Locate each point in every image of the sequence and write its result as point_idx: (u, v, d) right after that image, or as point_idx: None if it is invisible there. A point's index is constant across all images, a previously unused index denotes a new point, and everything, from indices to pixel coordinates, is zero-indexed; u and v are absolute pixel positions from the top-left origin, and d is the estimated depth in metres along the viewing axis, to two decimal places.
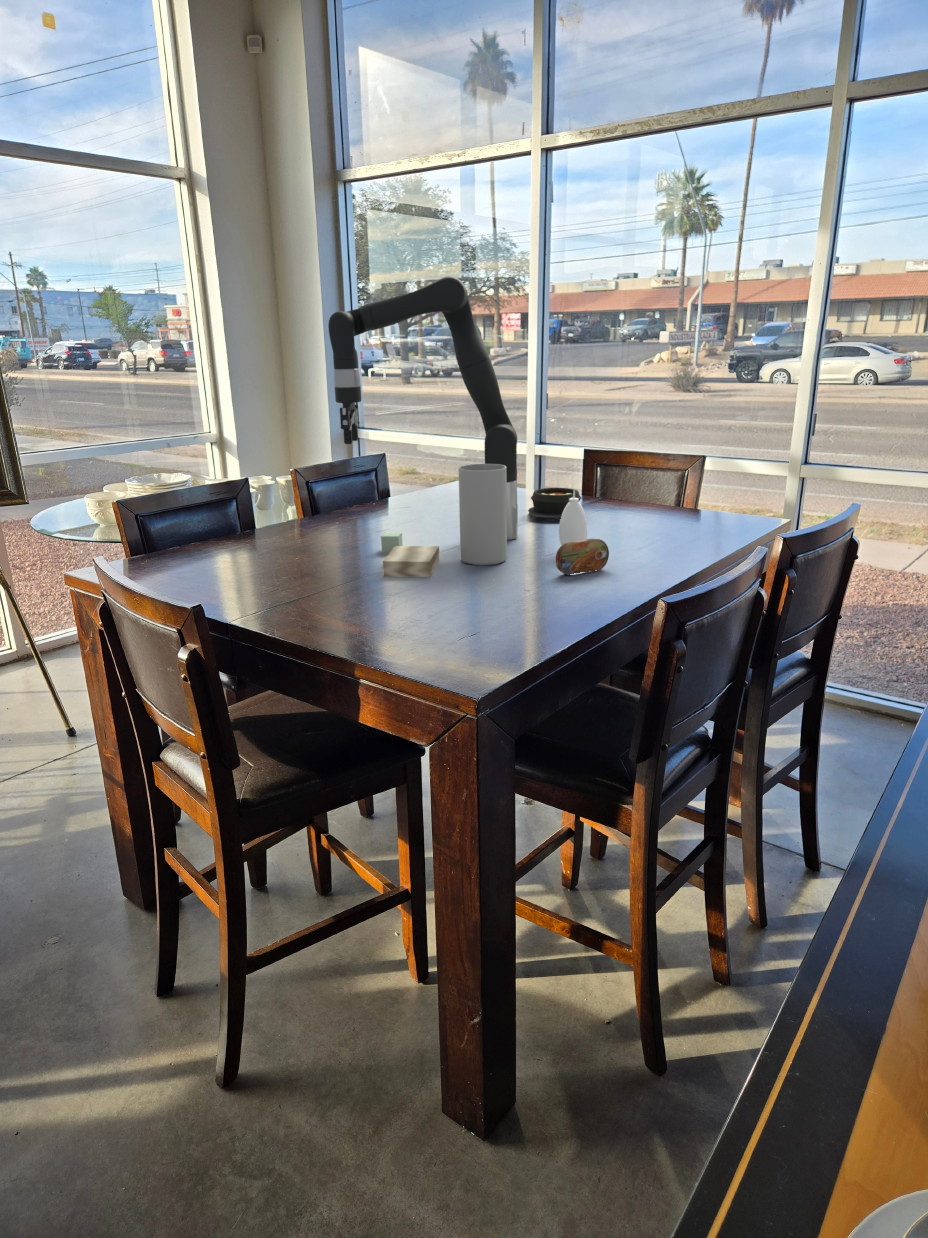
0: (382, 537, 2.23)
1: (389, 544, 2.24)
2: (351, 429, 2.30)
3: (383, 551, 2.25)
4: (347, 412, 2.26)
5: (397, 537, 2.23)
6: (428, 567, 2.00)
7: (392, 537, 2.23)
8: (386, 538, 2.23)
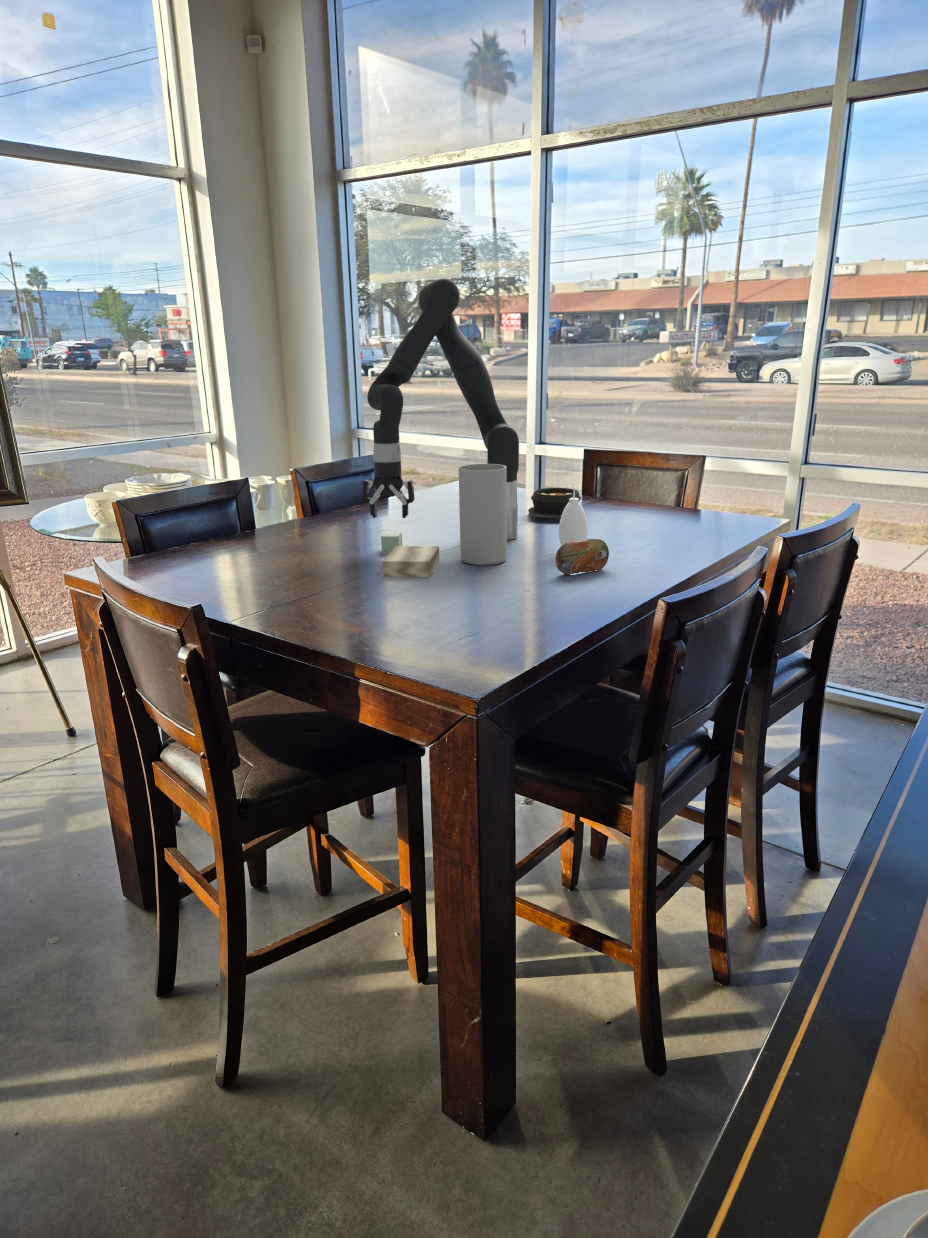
0: (382, 537, 2.23)
1: (389, 544, 2.24)
2: None
3: (383, 551, 2.25)
4: None
5: (397, 537, 2.23)
6: (428, 567, 2.00)
7: (392, 537, 2.23)
8: (386, 538, 2.23)
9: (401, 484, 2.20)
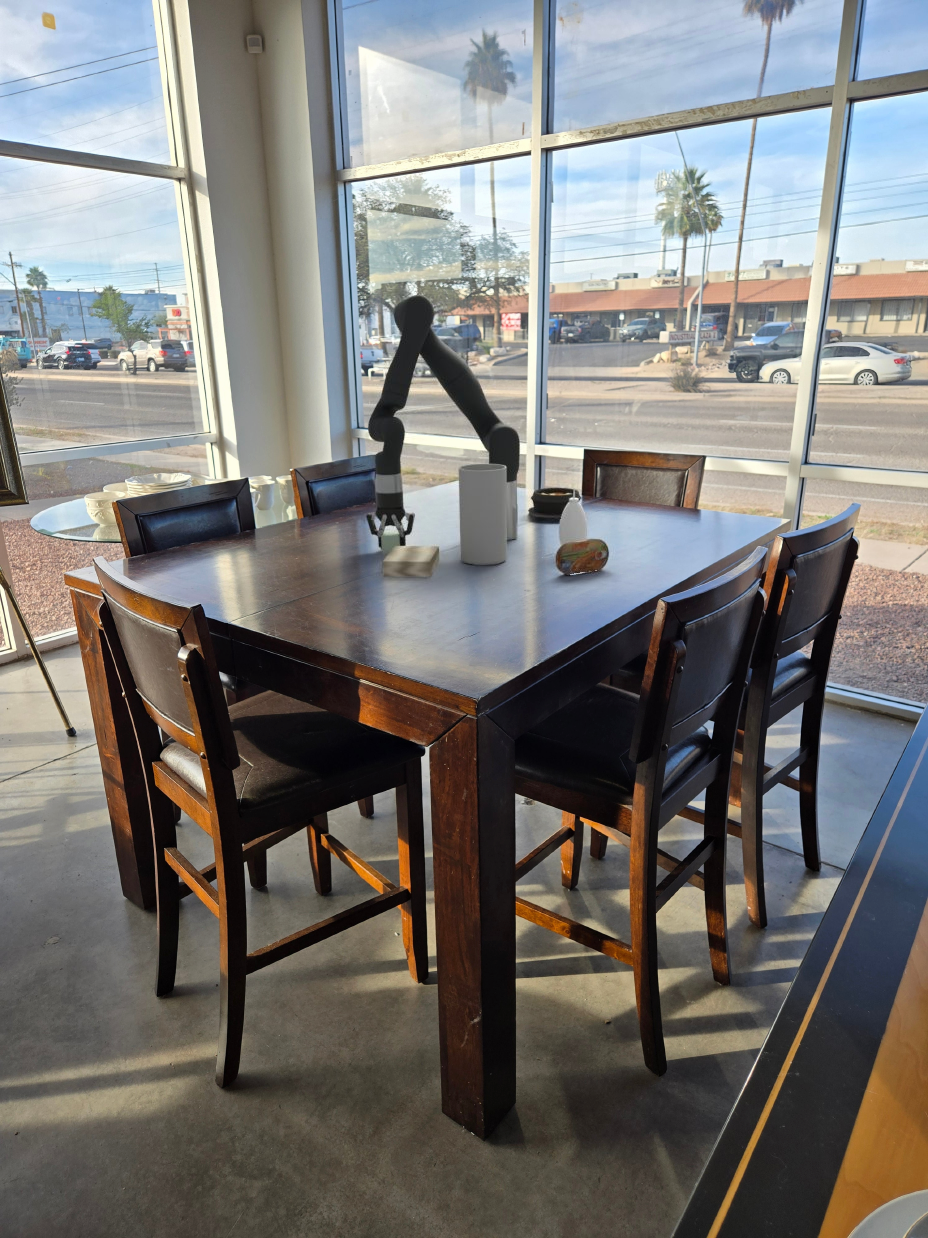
0: (382, 537, 2.23)
1: (389, 544, 2.24)
2: None
3: (383, 551, 2.25)
4: None
5: (397, 537, 2.23)
6: (428, 567, 2.00)
7: (392, 537, 2.23)
8: (386, 538, 2.23)
9: (403, 515, 2.22)
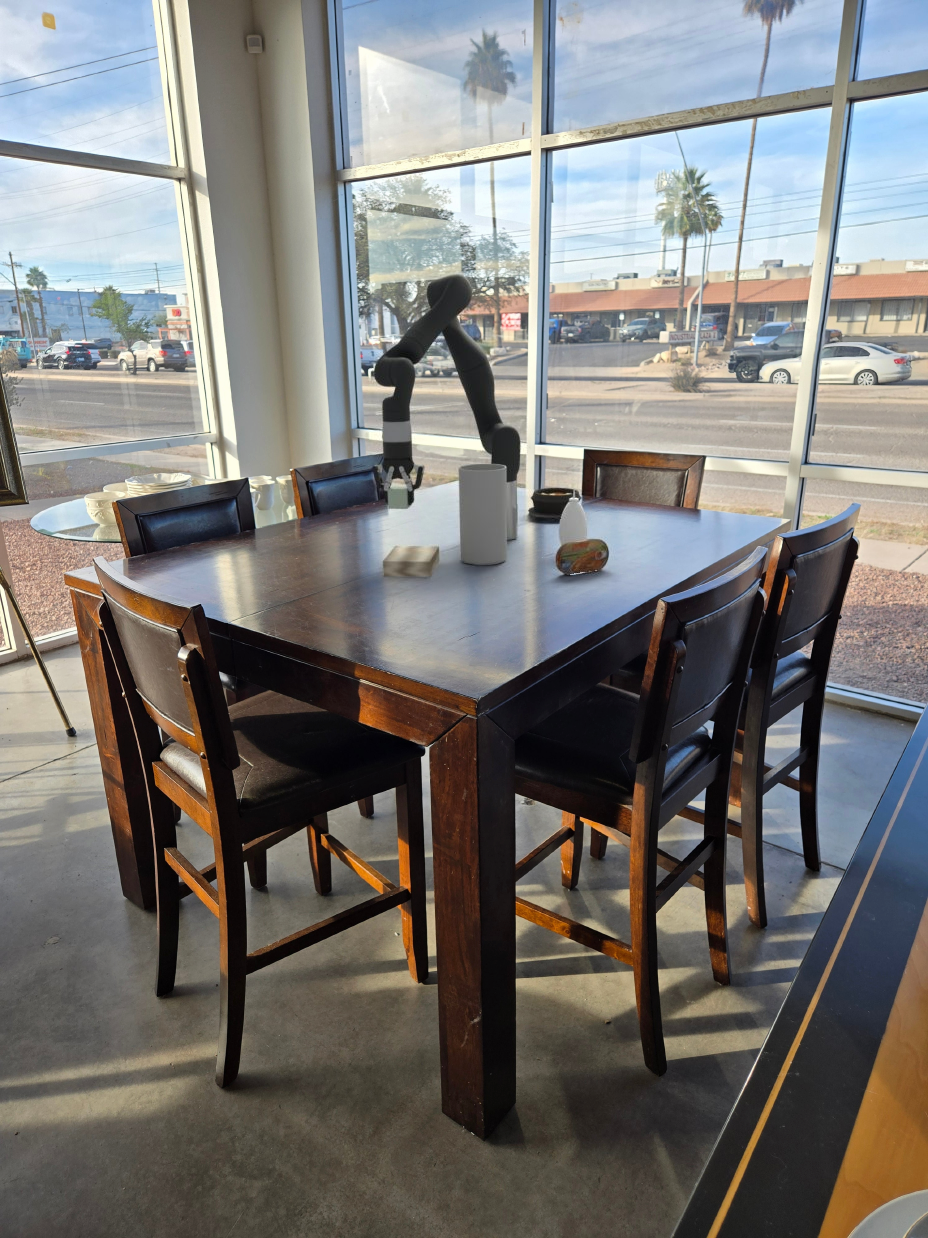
0: (389, 490, 2.07)
1: (396, 498, 2.07)
2: None
3: (390, 506, 2.08)
4: None
5: (405, 491, 2.06)
6: (428, 567, 2.00)
7: (399, 490, 2.07)
8: (393, 492, 2.07)
9: (412, 467, 2.06)
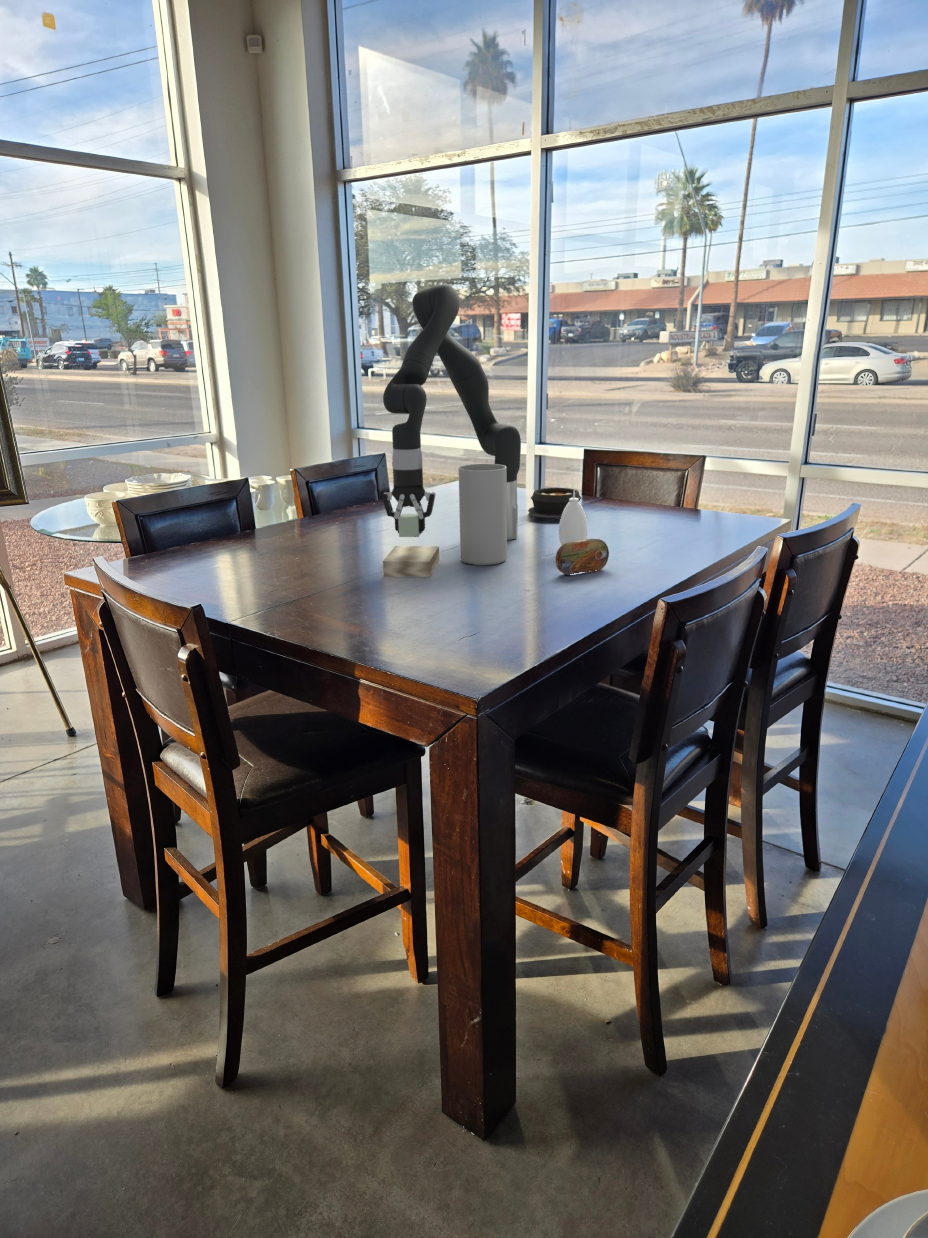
0: (399, 518, 2.03)
1: (406, 526, 2.03)
2: None
3: (400, 534, 2.04)
4: None
5: (416, 519, 2.02)
6: (428, 567, 2.00)
7: (410, 519, 2.02)
8: (404, 520, 2.03)
9: (422, 494, 2.02)
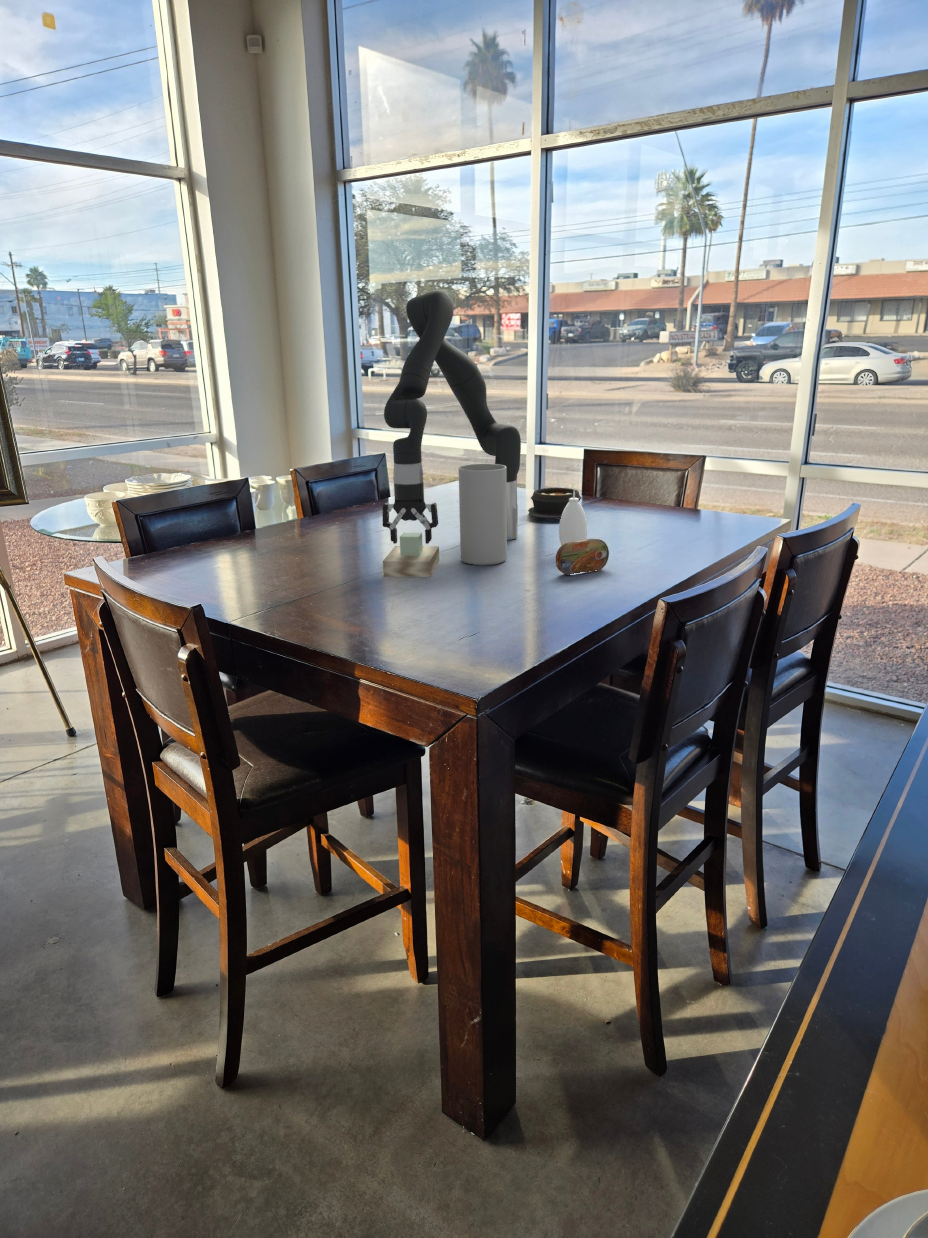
0: (401, 538, 2.04)
1: (408, 545, 2.05)
2: None
3: (402, 553, 2.06)
4: None
5: (417, 538, 2.04)
6: (428, 567, 2.00)
7: (412, 538, 2.04)
8: (405, 539, 2.04)
9: (424, 507, 2.03)
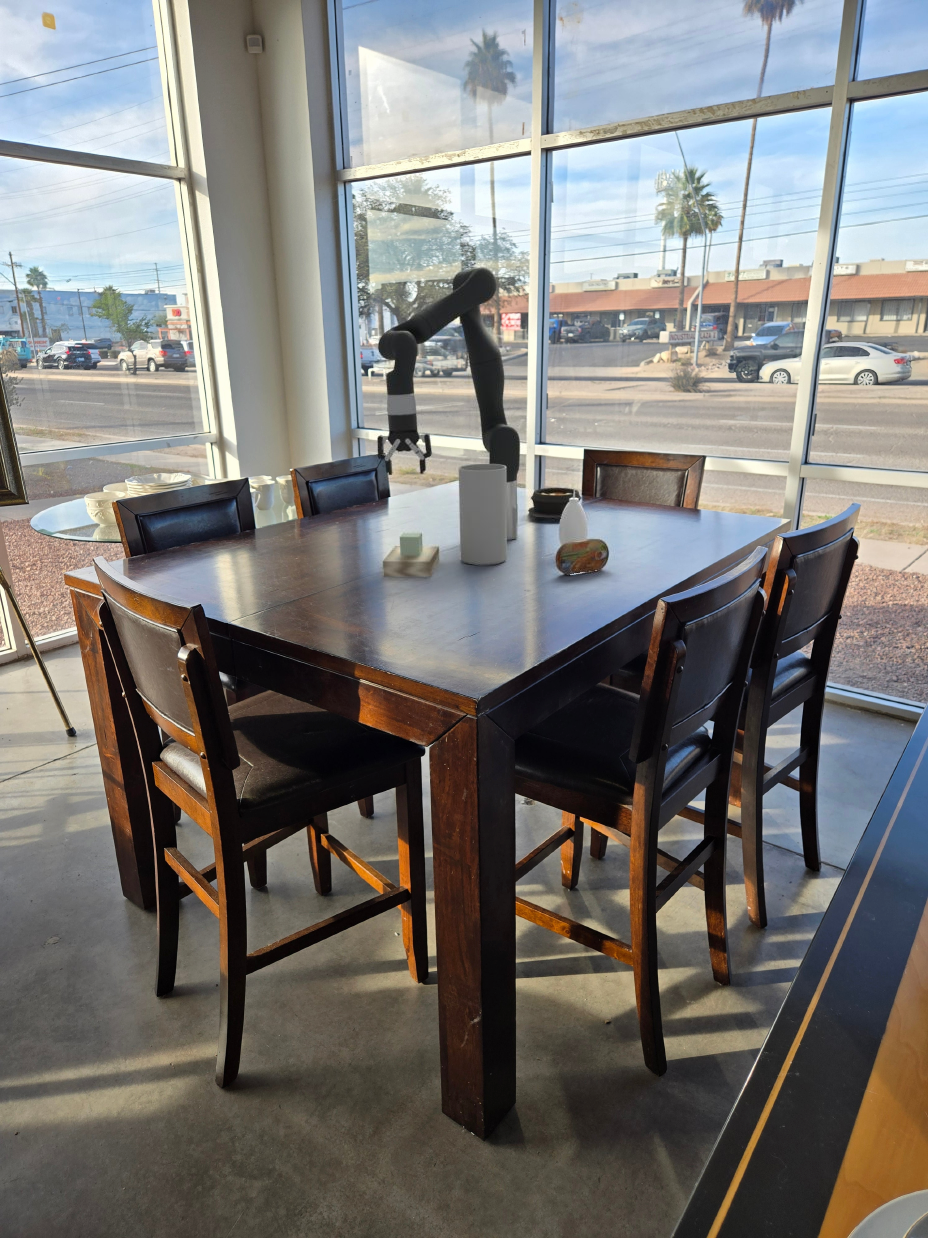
0: (401, 538, 2.04)
1: (408, 545, 2.05)
2: None
3: (402, 553, 2.06)
4: None
5: (417, 538, 2.04)
6: (428, 567, 2.00)
7: (412, 538, 2.04)
8: (405, 539, 2.04)
9: (418, 438, 2.09)
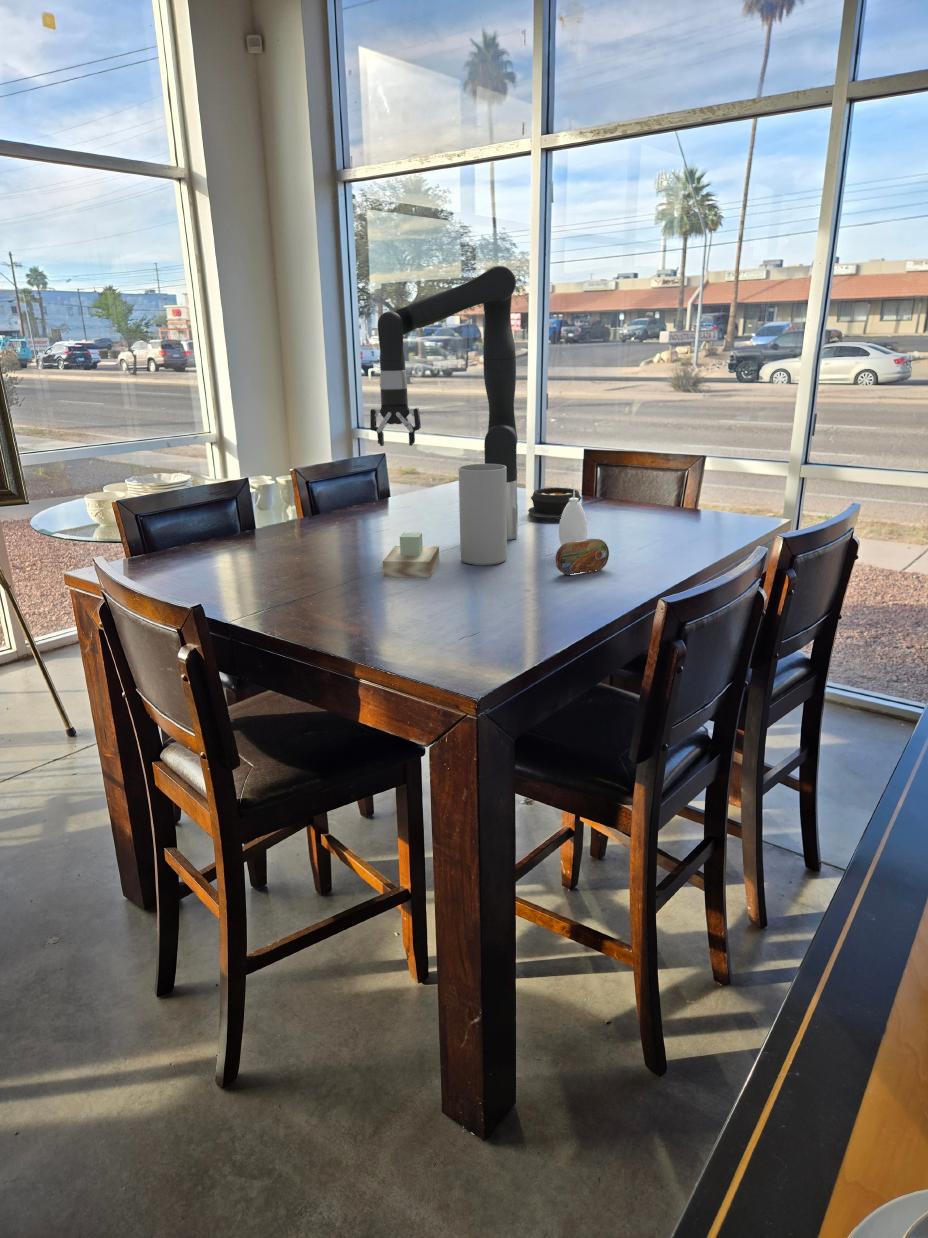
0: (401, 538, 2.04)
1: (408, 545, 2.05)
2: None
3: (402, 553, 2.06)
4: None
5: (417, 538, 2.04)
6: (428, 567, 2.00)
7: (412, 538, 2.04)
8: (405, 539, 2.04)
9: (407, 411, 2.26)
